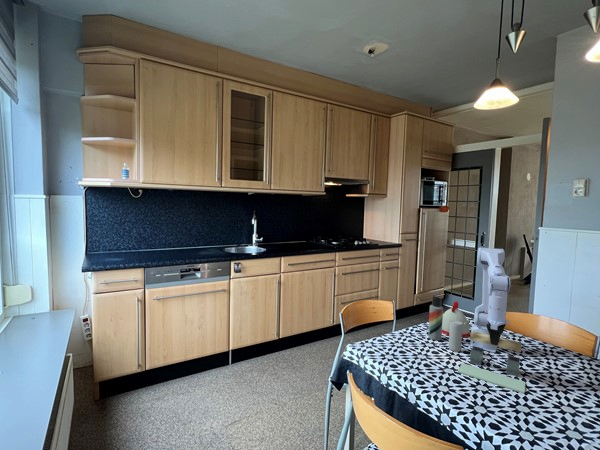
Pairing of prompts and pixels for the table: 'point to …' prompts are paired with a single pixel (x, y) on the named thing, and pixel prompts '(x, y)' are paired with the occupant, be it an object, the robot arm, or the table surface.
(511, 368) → the cradle stands
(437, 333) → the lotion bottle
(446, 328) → the kitchen timer
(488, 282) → the robot arm
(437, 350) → the table surface
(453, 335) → the beverage can
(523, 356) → the table surface
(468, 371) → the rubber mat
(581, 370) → the table surface
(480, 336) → the oak rail
